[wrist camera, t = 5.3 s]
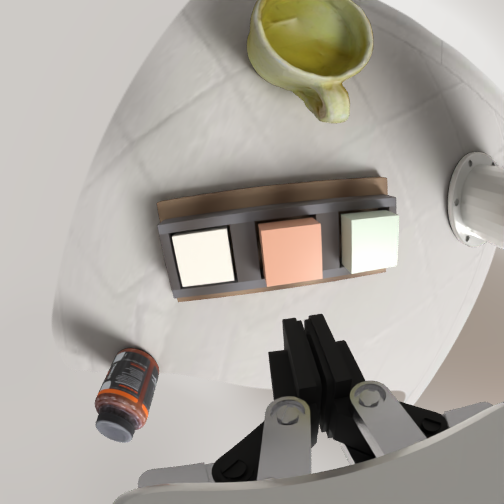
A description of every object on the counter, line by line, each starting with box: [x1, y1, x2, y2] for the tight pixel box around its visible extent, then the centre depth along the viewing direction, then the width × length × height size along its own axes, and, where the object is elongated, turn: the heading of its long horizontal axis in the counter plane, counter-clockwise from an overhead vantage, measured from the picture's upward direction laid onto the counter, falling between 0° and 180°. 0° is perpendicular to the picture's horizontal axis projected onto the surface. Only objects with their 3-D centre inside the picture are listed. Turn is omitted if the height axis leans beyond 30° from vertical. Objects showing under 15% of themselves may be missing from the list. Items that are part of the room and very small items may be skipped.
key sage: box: [341, 210, 399, 274], centre depth 23 cm, size 5×5×2 cm
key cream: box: [172, 225, 234, 287], centre depth 24 cm, size 5×5×2 cm
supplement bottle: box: [95, 348, 159, 442], centre depth 26 cm, size 6×6×11 cm
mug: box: [247, 0, 373, 123], centre depth 18 cm, size 12×10×10 cm
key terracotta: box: [258, 217, 323, 287], centre depth 23 cm, size 5×5×2 cm
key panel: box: [157, 177, 396, 302], centre depth 25 cm, size 22×10×4 cm, turn 97°
